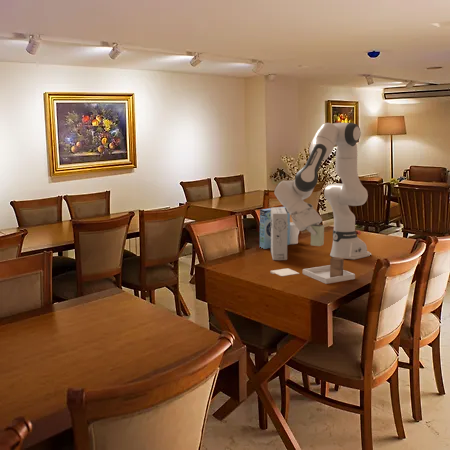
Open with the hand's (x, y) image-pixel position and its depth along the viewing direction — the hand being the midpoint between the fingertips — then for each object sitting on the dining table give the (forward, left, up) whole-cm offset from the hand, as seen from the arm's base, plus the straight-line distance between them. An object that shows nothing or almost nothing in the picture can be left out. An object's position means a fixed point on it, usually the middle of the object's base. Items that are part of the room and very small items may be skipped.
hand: (318, 233), depth 230 cm
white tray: (-3, +4, -21) cm, 21 cm away
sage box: (0, -1, -5) cm, 5 cm away
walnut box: (-5, +7, -20) cm, 22 cm away
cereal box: (-6, -44, -21) cm, 49 cm away
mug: (-31, -68, -21) cm, 78 cm away
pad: (+11, -11, -21) cm, 26 cm away
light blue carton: (-16, -64, -21) cm, 69 cm away
